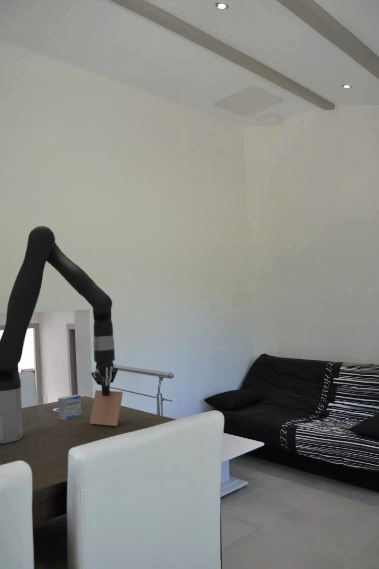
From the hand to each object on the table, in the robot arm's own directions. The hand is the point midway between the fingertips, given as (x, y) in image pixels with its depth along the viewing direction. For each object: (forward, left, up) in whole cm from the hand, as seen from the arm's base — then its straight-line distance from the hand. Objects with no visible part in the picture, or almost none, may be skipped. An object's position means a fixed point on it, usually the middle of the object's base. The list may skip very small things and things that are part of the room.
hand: (106, 395), depth 173 cm
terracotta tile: (-2, 0, -10) cm, 11 cm away
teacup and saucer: (+19, +36, -12) cm, 42 cm away
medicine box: (+4, +22, -11) cm, 25 cm away
